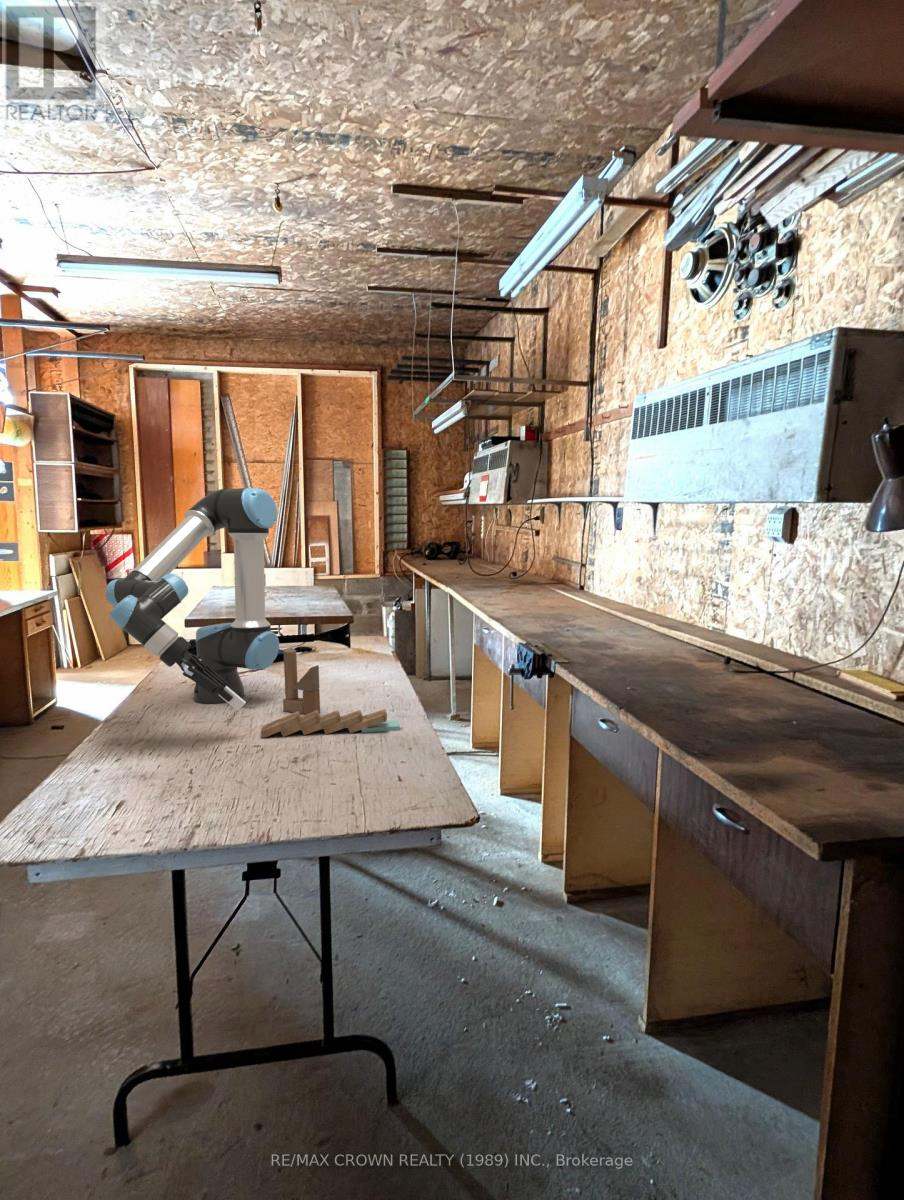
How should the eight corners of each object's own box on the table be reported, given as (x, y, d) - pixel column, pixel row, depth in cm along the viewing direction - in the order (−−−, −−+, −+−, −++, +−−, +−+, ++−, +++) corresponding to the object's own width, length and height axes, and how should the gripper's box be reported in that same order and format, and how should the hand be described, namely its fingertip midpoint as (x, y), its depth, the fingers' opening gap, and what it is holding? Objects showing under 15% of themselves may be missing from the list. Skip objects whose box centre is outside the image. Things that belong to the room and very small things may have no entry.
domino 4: (324, 722, 175) (360, 709, 176) (327, 728, 175) (362, 715, 176) (323, 728, 170) (359, 715, 171) (325, 734, 170) (362, 721, 171)
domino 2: (282, 724, 173) (317, 710, 174) (284, 730, 174) (320, 716, 175) (280, 731, 169) (316, 715, 170) (283, 737, 169) (319, 721, 170)
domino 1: (262, 725, 172) (298, 710, 174) (265, 731, 173) (301, 716, 174) (260, 732, 168) (297, 716, 169) (263, 738, 168) (300, 722, 169)
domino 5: (349, 720, 176) (385, 708, 176) (352, 726, 176) (387, 714, 176) (347, 727, 171) (384, 715, 171) (350, 733, 171) (386, 721, 171)
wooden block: (313, 716, 186) (310, 654, 183) (282, 711, 190) (280, 651, 188) (320, 712, 189) (318, 651, 187) (290, 708, 194) (288, 648, 191)
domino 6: (361, 722, 177) (398, 720, 178) (361, 728, 177) (398, 726, 178) (361, 728, 172) (399, 726, 173) (361, 734, 172) (399, 732, 174)
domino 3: (302, 723, 174) (338, 709, 176) (304, 729, 175) (340, 715, 176) (301, 729, 169) (338, 715, 171) (304, 735, 170) (340, 721, 171)
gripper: (164, 651, 169) (235, 709, 175) (151, 663, 157) (227, 725, 162) (185, 630, 170) (254, 689, 175) (173, 640, 157) (248, 703, 162)
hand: (241, 706), depth 168 cm, fingers closed
